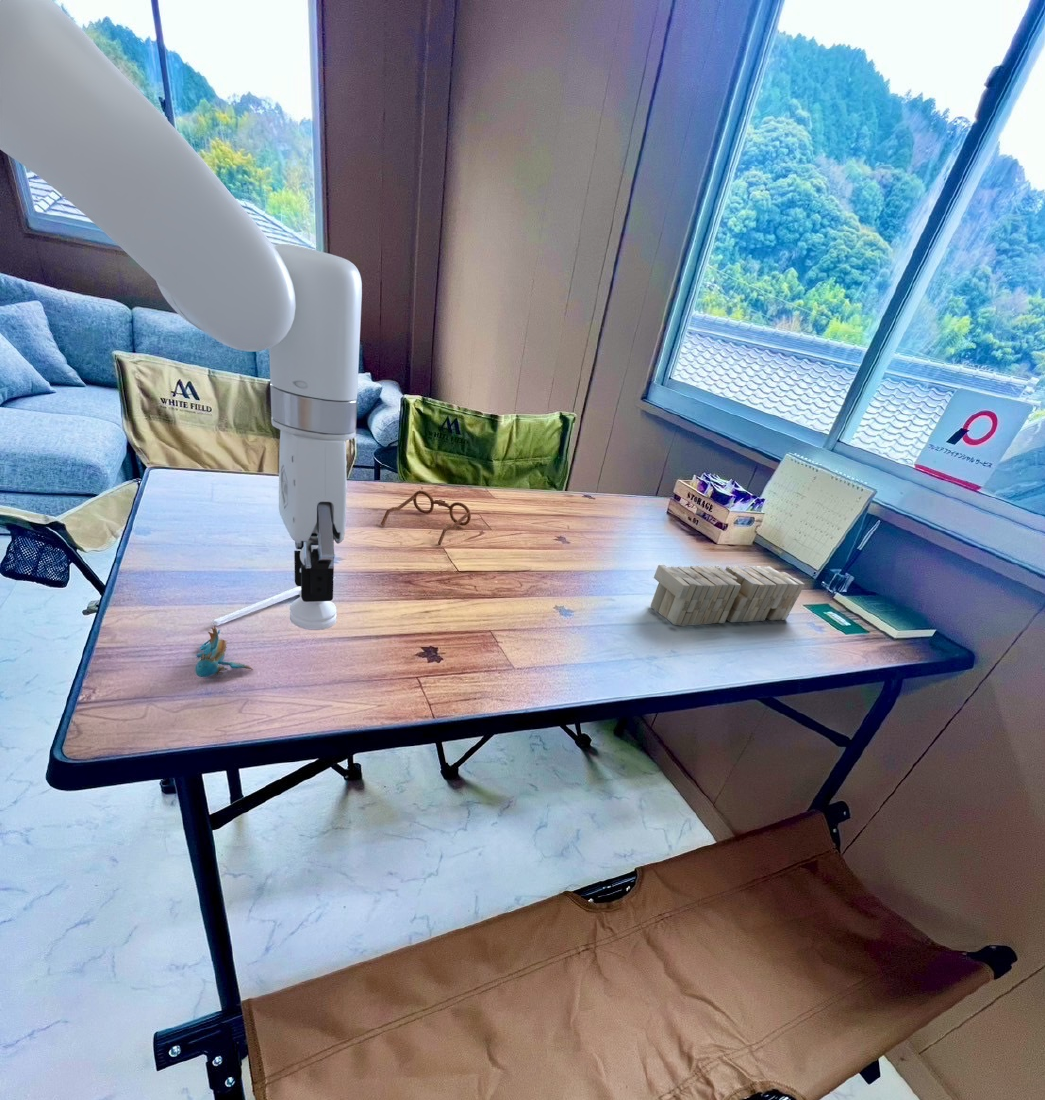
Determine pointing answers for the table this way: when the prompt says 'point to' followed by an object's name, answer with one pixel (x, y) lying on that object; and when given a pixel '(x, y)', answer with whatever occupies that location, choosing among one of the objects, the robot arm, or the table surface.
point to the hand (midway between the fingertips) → (313, 591)
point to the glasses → (432, 510)
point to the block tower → (724, 594)
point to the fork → (259, 605)
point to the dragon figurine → (214, 657)
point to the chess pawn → (312, 610)
